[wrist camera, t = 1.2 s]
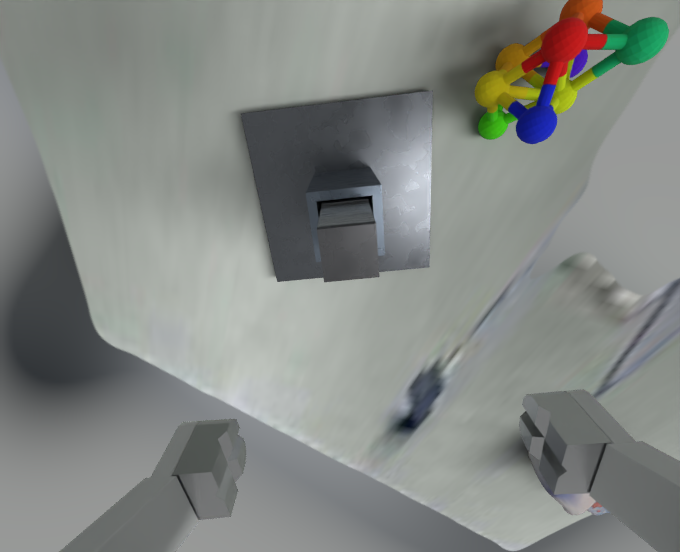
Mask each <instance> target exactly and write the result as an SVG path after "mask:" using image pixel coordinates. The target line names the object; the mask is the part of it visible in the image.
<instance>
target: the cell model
mask: <svg viewBox="0 0 680 552" xmlns="http://www.w3.org/2000/svg"><path fill="white" fill-rule="evenodd" d="M528 455H529V458H530V460H531V462H532V465H533V467H534V470H535V472H536V475H537V477H538V479H539V480H540V482H541V484H542V485H543V487H544V488H545V489H546V491H547V492H548V493H549V494H550V495H551V496H552V497H553V498H554V499H555V500H556V501H558V502H559V503H560V504H561V505H562V506H563V508H564V510H565V511H566V512H567V513H569V514H571V515H579V514H582V513H584V512H585V511H587V510H588V511H589V512H591V513H592V514H594V515H601V514H604V513H606V512H608V513H610V512H609V511H608V510H606V509H605V508H604V507H603V506H601V505H600V504H599V503H598V502H597V501H595V500H594V499H593V498H592V497H591V496H589V494H590V493H585V494H559V495H554V494H553V493H552V491H551V489H550V488H549V486H548V484H547V482H546V481H545V479H544V477H543V476H542V474H541V472H540V471H539V463H540V460H539V459H537V458H536V457H534V456H533V455H531V454H530V453H529V452H528Z"/></svg>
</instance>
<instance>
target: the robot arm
mask: <svg viewBox="0 0 680 552" xmlns="http://www.w3.org/2000/svg"><path fill="white" fill-rule="evenodd" d="M522 405H523V407H524V408H525V410H526V411H525V412H524V413H523V414H522V415H521V416H520V422H519V428H520V433H521V437H522V440H523V442H524V445H525V446H526V448H527V450H528V452H529V453H530V454H531V455H533V456H534V457H536V458H537V459H539V460H540V463H539V471H540V472H541V474H542V476H543V477H544V479H545V481H546V482H547V484H548V486H549V488H550V489H551V491H552V493H553V494H554V495H559V494H585V493H590V494H589V496H591V497H592V498H593V499H594V500H595V501H597V502H598V503H599V504H600V505H601V506H603V507H604V508H605V509H606V510H608V511H609V512H610V513H611V514H612V515H614V516H615V517H616V518H617V519H619V520H620V521H621V522H622V523H624V524H625V525H626V526H627V527H628V528H630V529H631V530H632V531H633V532H635V533H636V534H637V535H638V536H639V537H640V538H642V539H643V540H644V541H645V542H647V543H648V544H649V545H650V546H651V547H653V548H654V549H655V550H656V551H658V552H680V461H679V460H677V459H675V458H673V457H671V456H669V455H667V454H665V453H663V452H662V451H660V450H658V449H656V448H654V447H652V446H650V445H648V444H646V443H645V442H643V441H639V442H636V441H635V440H634V439H633V438H632V437H631V436H630V435H629V434H628V433H627V432H626V431H625V429H624V428H623V427H622V426H621V425H620V424H619V423H618V422H617V421H616V420H615V419H614V418H613V417H612V416H611V415H610V414H609V413H608V412H607V411H606V410H605V408H604V407H603V406H602V405H601V404H600V403H599V402H598V401H597V400H596V399H595V398H594V397H593V396H592V395H591V394H590V393H589V392H588V391H586V390H584V389H583V390H572V391H564V392H562V391H558V392H548V393H537V394H527V395H526V396H525V397H524V398H523V403H522ZM239 428H240V427H239V425H238V422H237V420H236V419H224V420H205V421H192V422H183V423H182V424H181V425H180V426H178V428H177V430H176V431H175V433H174V435H173V437H172V439H171V441H170V443H169V444H168V446H167V448H166V450H165V452H164V454H163V455H162V457H161V459H160V461H159V463H158V465H157V467H156V469H155V470H154V472H153V474H152V476H151V478H145V479H144V480H142V481H141V482H140V483H139V484H138V485H137V486H136V487H134V488H133V489H132V490H131V491H130V492H128V493H127V494H126V495H125V496H124V497H123V498H121V499H120V500H119V501H118V502H117V503H116V504H114V505H113V506H112V507H111V508H110V509H109V510H107V511H106V512H105V513H104V514H103V515H102V516H100V517H99V518H98V519H97V520H96V521H95V522H94V523H92V524H91V525H90V526H89V527H88V528H86V529H85V530H84V531H83V532H82V533H81V534H79V535H78V536H77V537H76V538H75V539H74V540H72V541H71V542H70V543H69V544H68V545H67V546H65V547H64V548H63V549H62V550H61V551H60V552H176V551H177V550H178V548H179V547H180V546H181V545H182V543H183V542H184V541H185V539H186V538H187V537H188V536H189V534H190V533H191V532H192V531H193V529H194V528H195V527H196V525H197V524H198V523H199V520H202V519H212V518H222V517H231V514H232V510H233V506H234V503H235V499H236V496H237V492H238V489H237V486H236V484H235V482H236V481H237V480H238V479H239V477H240V476H241V475H242V474H243V470H244V467H245V460H246V446H245V442H244V439H243V438H242V437H241V436H239V435H238V431H239Z"/></svg>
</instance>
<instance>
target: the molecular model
mask: <svg viewBox="0 0 680 552" xmlns="http://www.w3.org/2000/svg"><path fill="white" fill-rule="evenodd" d="M602 8H603V1H602V0H568V2H567V3H566V4H565V5H564V7H563V9H562V11H561V14H560V19H559V22H557V23H556V24H555V25H553V26H552V27H550V28H549V29H547V30H546V31H545V32H543V33H542V34H541V35H540V36H538V37H537V38H535V39H534V40H532V41H531V42H530V43H528V44H527V45H525V46H523V45H522V44H518V43H515V44H511V45H509V46H507V47H506V48H504V49H503V50H502V51H501V52H500V53H499V55H498V57H497V60H496V63H495V64H496V71H491V72H488V73H487V74H485V75H483V76H482V77H481V78H480V79H479V81H478V83H477V85H476V87H475V98H476V101H477V102H478V103H479V104H480V105H481V106H483V107H487V113H485V114H484V115H483V116H482V117H481V119H480V121H479V124H478V130H479V133H480V135H481V136H482V137H483V138H485V139H489V140H491V139H496V138H498V137H500V136H501V135H502V134H503V133H504V132H505V130H506V129H507V127H508V123H511V122H513V121H515V120H518V122H517V125H516V132H517V136H518V137H519V138H520V139H521V140H522V141H523V142H526V143H528V144H536V143H538V142H541V141H544V140H546V139H547V138H548V137H549V136H551V134H552V133H553V131H554V129H555V127H556V125H557V116H556V114H560V113H562V112H564V111H566V110H568V109H569V108H570V107H571V106H572V104H573V103H574V101H575V99H576V97H577V91H578V90H579V89H581V88H582V87H584V86H585V85H587V84H588V83H590V82H592V81H593V80H595V79H596V78H598V77H599V76H601V75H602V74H604V73H605V72H607V71H609V70H610V69H612V68H613V67H615V66H616V65H618V64H619V63H621V62H622V63H623V64H627V65H635V64H639V63H643V62H645V61H647V60H649V59H651V58H652V57H654V56H655V55H656V54H657V53H658V52H659V51H660V50H661V49H662V48H663V46H664V45H665V43H666V41H667V38H668V33H669V29H668V26H667V23H666V22H665V21H664V20H662V19H660V18H656V17H649V18H645V19H642V20H639V21H637V22H636V23H634V24H633V25H631V26H628V25H625V24H623V23H621V22H619V21H617V20H614V19H612V18H610V17H608V16H606V15H603V14H601V12H602ZM589 28H593V29H595V30H597V31H599V32H601V33H603V34H588V29H589ZM540 48H541V50H539V51H538V52H536V53H535V54H533V55H532V56H529V55H531V54H532V53H534V52H535V51H537V50H538V49H540ZM587 50H615V52H614V53H613V54H611V55H610V56H608V57H607V58H605V59H604V60H602V61H601V62H599V63H598V64H596V65H595V66H593V67H592V68H590V69H589V70H588V71H586V72H585V73H583V74H582V75H580V76H579V77H577V78H576V79H574V80H573V81H571V80H569V79H570V78H571V77H574V76H575V75H577V74H578V73H579V72H580V71H581V70H582V69H583V68H584V66H585V64H586V62H587V58H588V54H587ZM536 67H542V68H548V70H547V73H546V76H545V79H544V78H543V77H542V76H541V75H539V74H538V73H537V72H535V71H534V70H533V69H534V68H536ZM520 77H522V78H523V79H524V80H526V81H527V82H528V83H529V84H531V85H532V86H533V87H534V88H528V87H520V86H512V85H510V84H511V83H513V82H514V81H516V80H517V79H519V78H520ZM514 98H516V99H525V100H534V102H532V103H530V104H528V105H525V106H523V105H522V104H520V103H519V102H518V101H517V100H515V99H514ZM503 107H504V108H505V109H506V110H507V111H508V112H509V113H507V114H505V113H504V112H503V111H502V109H503Z"/></svg>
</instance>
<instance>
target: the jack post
mask: <svg viewBox="0 0 680 552" xmlns="http://www.w3.org/2000/svg"><path fill="white" fill-rule="evenodd" d="M321 205H322V206H321V211H320V216H319V221H318V226H317V235H318V242H319V249H320V256H321V262H322V269H323V276H324V282H332V281H342V280H352V279H363V278H373V277H379V263H378V246H377V229H376V222H375V219H374V216H373V213H372V210H371V207H370V204H369V202H368V198H367V196H362V197H352V198H343V199H334V200H324V201H322V203H321Z"/></svg>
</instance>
